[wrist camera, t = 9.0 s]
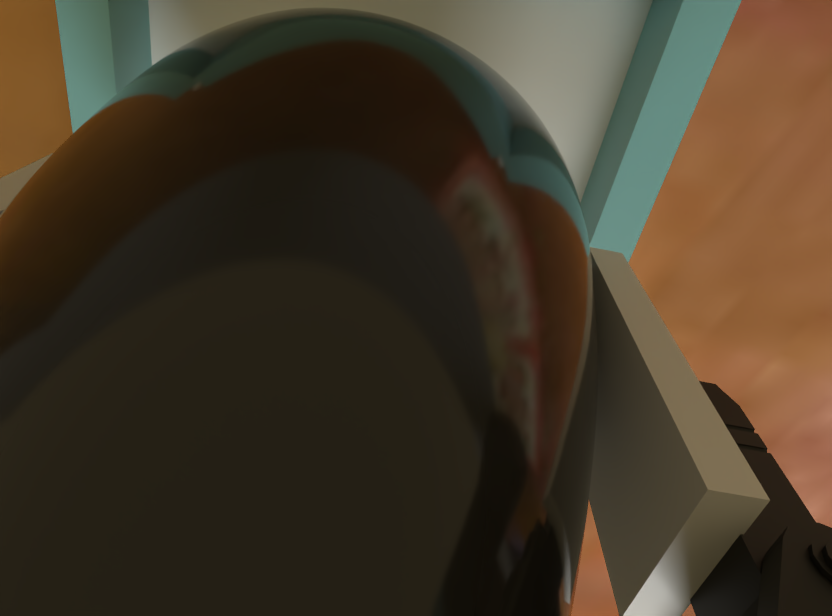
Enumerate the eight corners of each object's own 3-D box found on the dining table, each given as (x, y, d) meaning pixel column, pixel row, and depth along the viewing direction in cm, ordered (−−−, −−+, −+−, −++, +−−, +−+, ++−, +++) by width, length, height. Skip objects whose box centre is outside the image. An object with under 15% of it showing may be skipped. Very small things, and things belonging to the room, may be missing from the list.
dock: (738, -79, 14) (808, -89, 11) (544, 403, 22) (557, 464, 20) (83, -230, 13) (-12, -280, 10) (135, 331, 21) (90, 384, 19)
